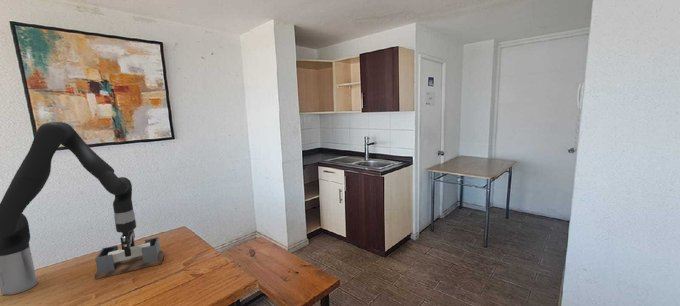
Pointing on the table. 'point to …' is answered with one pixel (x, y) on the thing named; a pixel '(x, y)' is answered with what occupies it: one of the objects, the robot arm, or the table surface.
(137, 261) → the plank
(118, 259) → the block
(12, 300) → the table surface
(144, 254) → the grey boxes
